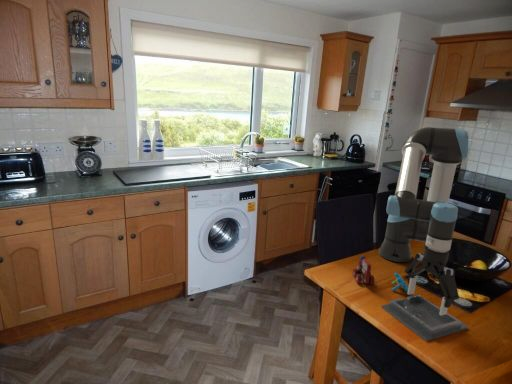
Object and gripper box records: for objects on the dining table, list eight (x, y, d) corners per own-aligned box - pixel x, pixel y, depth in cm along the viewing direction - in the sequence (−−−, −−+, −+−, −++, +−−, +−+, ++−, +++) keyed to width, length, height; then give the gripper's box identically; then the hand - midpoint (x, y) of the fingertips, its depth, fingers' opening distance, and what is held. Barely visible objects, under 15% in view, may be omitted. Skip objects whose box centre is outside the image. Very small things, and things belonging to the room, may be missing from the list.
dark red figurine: (366, 274, 152) (369, 252, 150) (374, 288, 140) (378, 265, 138) (350, 273, 152) (353, 251, 150) (358, 287, 140) (361, 264, 138)
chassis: (420, 298, 135) (421, 291, 134) (468, 328, 117) (469, 321, 116) (381, 307, 127) (382, 300, 126) (426, 341, 109) (427, 333, 108)
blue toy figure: (416, 298, 133) (400, 278, 132) (402, 305, 134) (387, 286, 134) (409, 284, 143) (394, 266, 142) (396, 291, 145) (382, 273, 144)
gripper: (400, 235, 125) (391, 287, 130) (463, 265, 103) (450, 326, 108) (415, 233, 128) (406, 284, 133) (480, 262, 106) (466, 321, 111)
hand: (425, 303), depth 120 cm, fingers open, 13 cm apart
